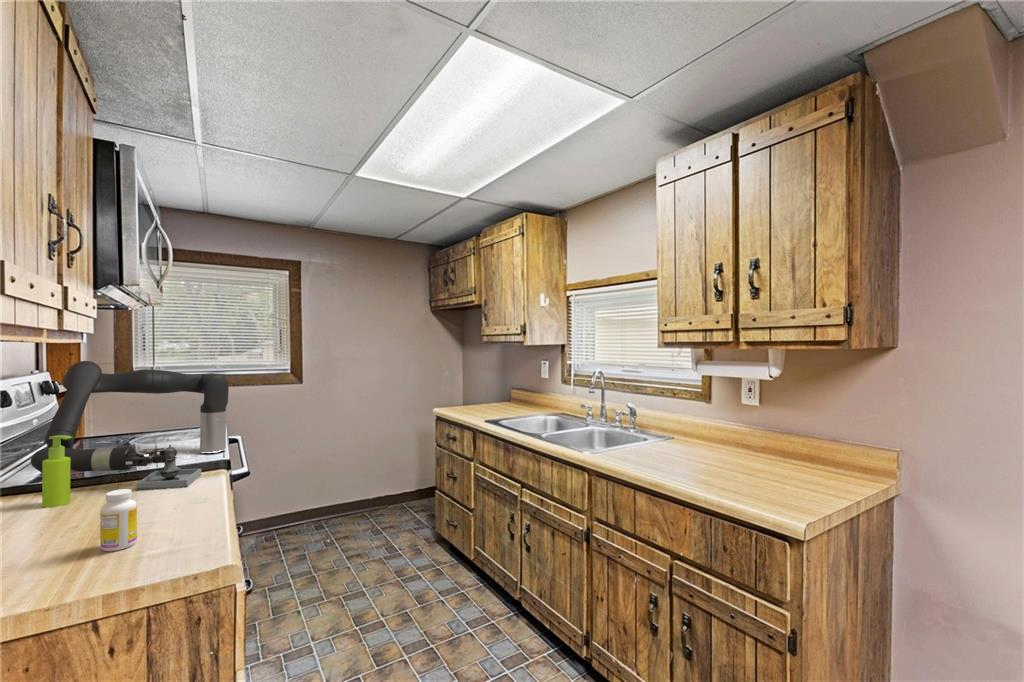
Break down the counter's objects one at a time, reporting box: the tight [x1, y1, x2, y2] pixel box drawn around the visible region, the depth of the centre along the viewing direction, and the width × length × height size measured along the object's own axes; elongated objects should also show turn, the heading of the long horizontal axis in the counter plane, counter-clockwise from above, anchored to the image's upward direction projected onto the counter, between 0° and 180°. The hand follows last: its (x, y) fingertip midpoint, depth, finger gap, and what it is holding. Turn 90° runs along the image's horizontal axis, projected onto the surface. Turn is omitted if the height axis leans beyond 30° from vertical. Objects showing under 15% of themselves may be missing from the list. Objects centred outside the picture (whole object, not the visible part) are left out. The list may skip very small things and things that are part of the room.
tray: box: [135, 468, 202, 492], centre depth 159 cm, size 14×14×2 cm
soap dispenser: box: [41, 435, 73, 508], centre depth 138 cm, size 6×7×20 cm
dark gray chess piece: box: [158, 444, 182, 481], centre depth 159 cm, size 6×6×12 cm
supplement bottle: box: [99, 488, 138, 552], centre depth 112 cm, size 7×7×13 cm
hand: (171, 455), depth 159 cm, fingers open, 8 cm apart
